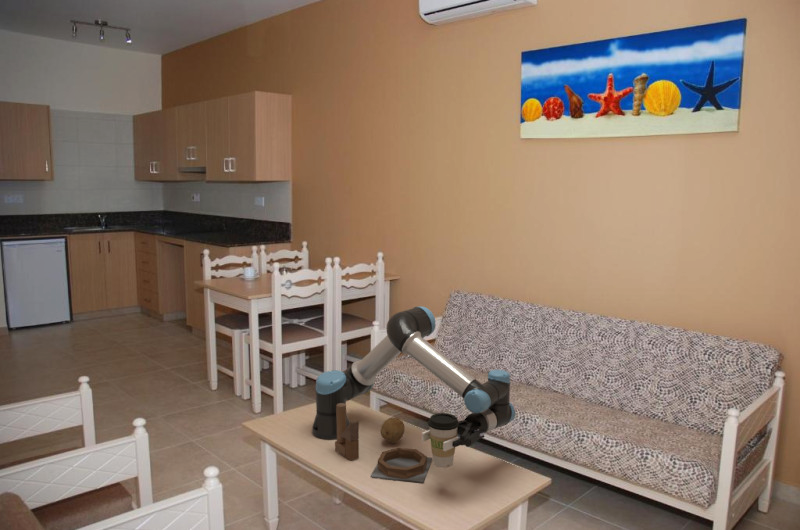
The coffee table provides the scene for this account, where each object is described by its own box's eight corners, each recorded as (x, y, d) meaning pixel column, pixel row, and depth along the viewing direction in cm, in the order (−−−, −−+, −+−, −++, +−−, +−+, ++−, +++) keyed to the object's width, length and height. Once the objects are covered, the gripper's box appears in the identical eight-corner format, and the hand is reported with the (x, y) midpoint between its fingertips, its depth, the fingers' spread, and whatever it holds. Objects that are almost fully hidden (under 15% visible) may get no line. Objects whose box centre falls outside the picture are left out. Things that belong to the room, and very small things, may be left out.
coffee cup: (427, 455, 199) (427, 412, 197) (457, 456, 199) (458, 412, 197) (427, 470, 189) (428, 424, 187) (459, 470, 189) (460, 424, 187)
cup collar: (383, 454, 221) (383, 444, 220) (432, 459, 217) (432, 449, 217) (370, 477, 204) (370, 467, 203) (423, 483, 200) (423, 473, 199)
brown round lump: (384, 449, 225) (384, 423, 223) (377, 440, 233) (377, 415, 232) (407, 446, 228) (407, 420, 226) (399, 436, 236) (399, 412, 235)
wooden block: (350, 461, 216) (350, 412, 213) (334, 450, 224) (333, 404, 221) (359, 458, 218) (358, 410, 215) (343, 448, 226) (342, 401, 224)
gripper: (505, 443, 197) (458, 465, 182) (456, 423, 213) (409, 442, 198) (505, 421, 196) (458, 441, 181) (456, 403, 212) (409, 420, 197)
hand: (433, 441), depth 190 cm, fingers closed on coffee cup, 9 cm apart
